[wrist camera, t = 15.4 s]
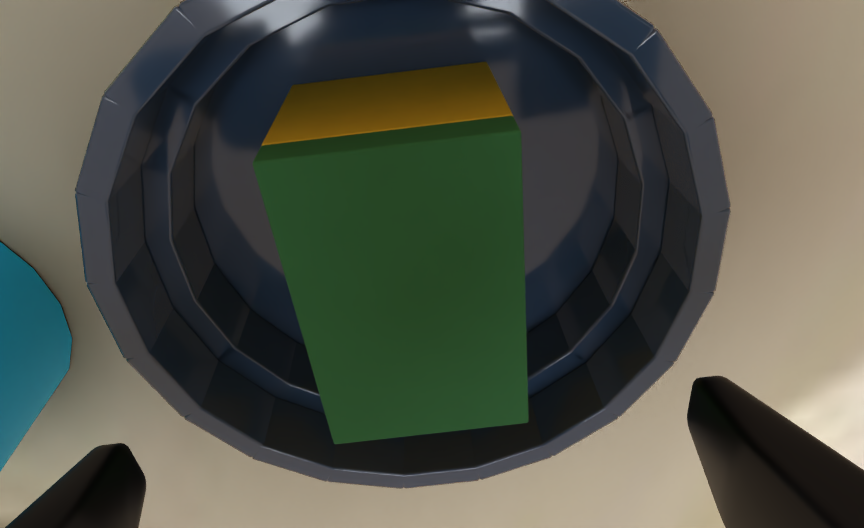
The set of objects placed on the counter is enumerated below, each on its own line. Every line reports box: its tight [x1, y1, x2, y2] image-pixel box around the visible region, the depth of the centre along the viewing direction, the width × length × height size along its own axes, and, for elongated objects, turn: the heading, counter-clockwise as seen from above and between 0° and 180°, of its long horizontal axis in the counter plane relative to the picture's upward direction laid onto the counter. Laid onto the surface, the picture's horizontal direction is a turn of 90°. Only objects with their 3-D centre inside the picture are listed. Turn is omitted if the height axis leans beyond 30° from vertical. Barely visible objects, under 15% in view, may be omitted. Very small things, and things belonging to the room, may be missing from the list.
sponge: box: [253, 62, 529, 444], centre depth 14 cm, size 7×4×4 cm, turn 6°
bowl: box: [75, 0, 730, 488], centre depth 14 cm, size 13×13×4 cm
